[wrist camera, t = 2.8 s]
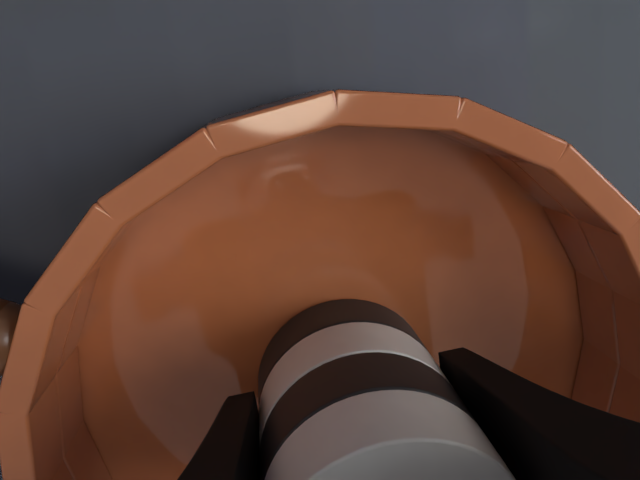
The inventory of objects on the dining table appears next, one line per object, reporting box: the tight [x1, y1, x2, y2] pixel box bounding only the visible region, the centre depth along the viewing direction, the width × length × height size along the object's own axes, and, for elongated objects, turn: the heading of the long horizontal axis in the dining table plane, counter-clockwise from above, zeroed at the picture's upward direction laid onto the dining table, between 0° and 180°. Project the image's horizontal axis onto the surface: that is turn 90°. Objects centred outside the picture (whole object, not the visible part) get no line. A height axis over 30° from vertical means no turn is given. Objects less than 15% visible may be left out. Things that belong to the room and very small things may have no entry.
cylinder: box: [258, 299, 516, 480], centre depth 11 cm, size 4×4×6 cm
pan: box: [0, 89, 640, 480], centre depth 12 cm, size 14×14×3 cm
